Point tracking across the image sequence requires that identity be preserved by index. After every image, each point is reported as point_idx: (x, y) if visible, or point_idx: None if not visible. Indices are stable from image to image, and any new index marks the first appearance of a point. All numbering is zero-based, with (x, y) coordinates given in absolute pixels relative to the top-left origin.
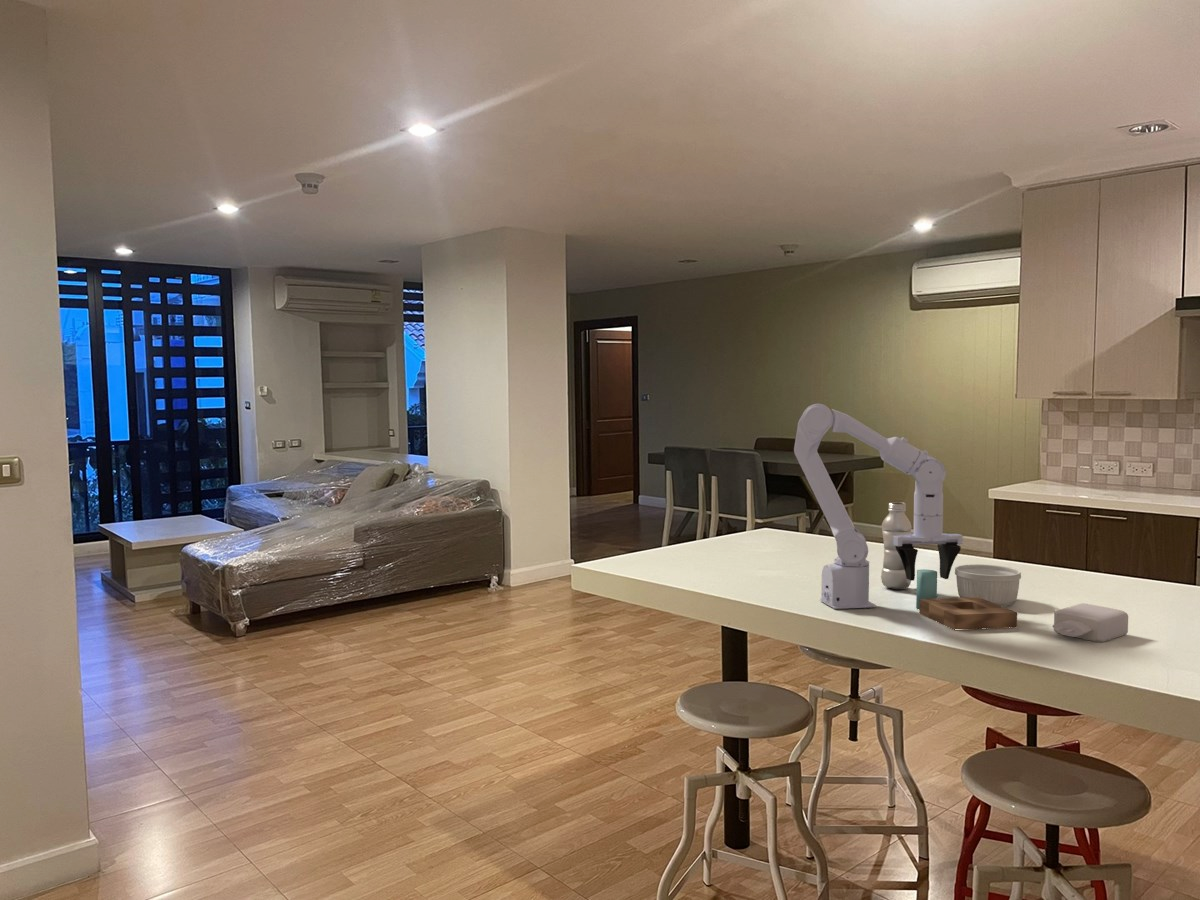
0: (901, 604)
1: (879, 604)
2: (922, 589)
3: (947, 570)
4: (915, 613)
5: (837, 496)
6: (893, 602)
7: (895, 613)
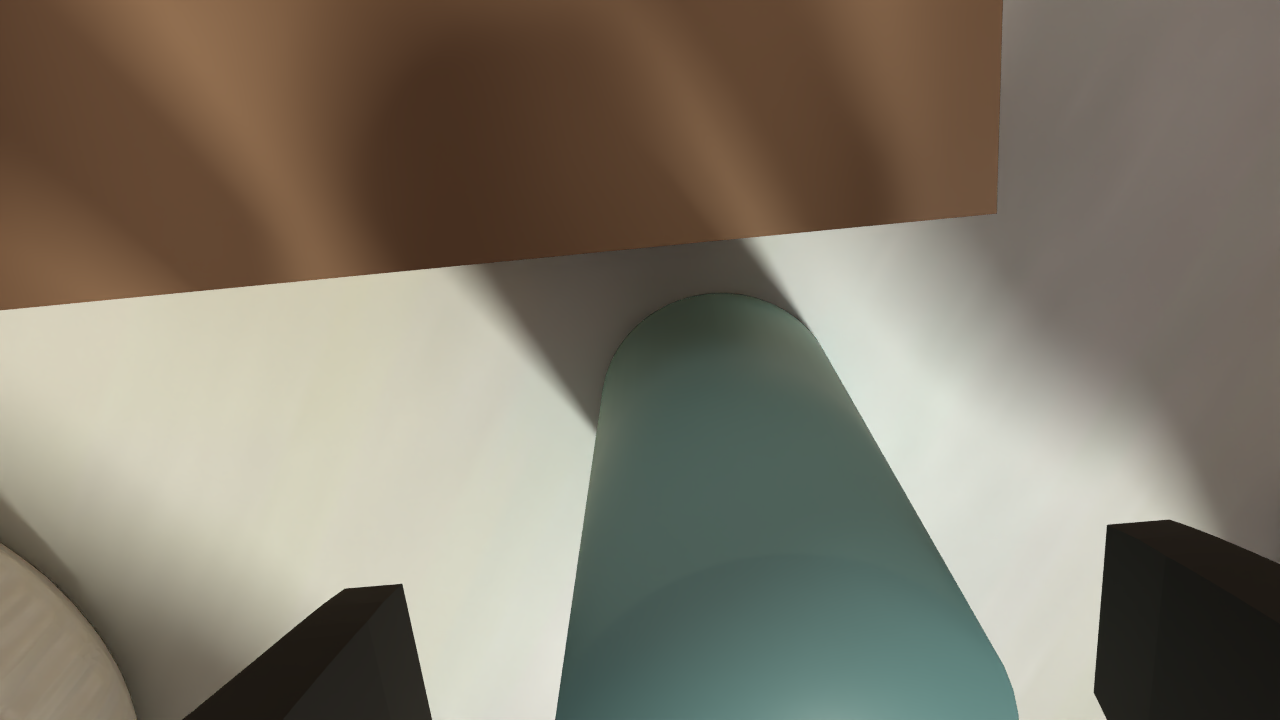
0: None
1: None
2: (874, 442)
3: (307, 676)
4: None
5: None
6: None
7: (1229, 209)
